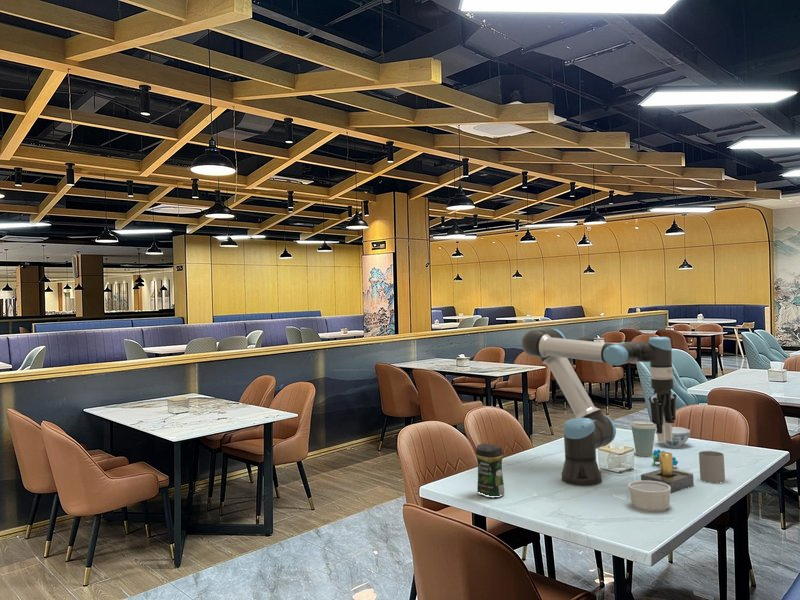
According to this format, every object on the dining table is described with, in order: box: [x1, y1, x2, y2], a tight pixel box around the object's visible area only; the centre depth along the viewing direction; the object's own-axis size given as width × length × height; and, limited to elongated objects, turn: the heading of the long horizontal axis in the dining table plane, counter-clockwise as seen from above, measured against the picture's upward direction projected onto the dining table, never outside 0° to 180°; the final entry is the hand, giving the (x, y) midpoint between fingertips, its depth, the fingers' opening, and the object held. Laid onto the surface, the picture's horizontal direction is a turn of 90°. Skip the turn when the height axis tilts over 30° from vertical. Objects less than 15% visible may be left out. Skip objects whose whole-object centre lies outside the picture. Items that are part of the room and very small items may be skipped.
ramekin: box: [627, 480, 671, 513], centre depth 195 cm, size 13×13×7 cm
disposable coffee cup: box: [630, 420, 657, 458], centre depth 261 cm, size 11×11×15 cm
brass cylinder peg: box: [659, 451, 674, 478], centre depth 216 cm, size 4×4×12 cm
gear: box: [651, 449, 679, 469], centre depth 241 cm, size 11×6×10 cm
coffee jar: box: [475, 443, 505, 496], centre depth 214 cm, size 10×8×19 cm
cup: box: [698, 450, 726, 484], centre depth 221 cm, size 8×8×10 cm
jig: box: [640, 468, 695, 494], centre depth 216 cm, size 14×12×5 cm
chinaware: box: [655, 426, 691, 448], centre depth 275 cm, size 15×15×8 cm
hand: (665, 441), depth 216 cm, fingers open, 3 cm apart
